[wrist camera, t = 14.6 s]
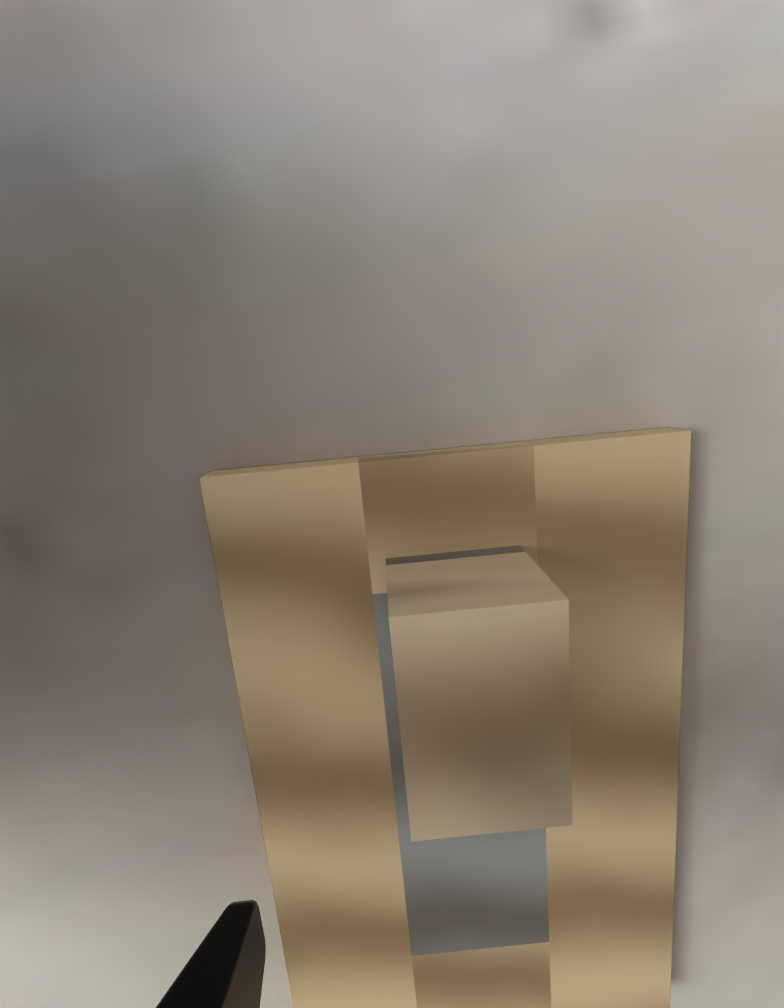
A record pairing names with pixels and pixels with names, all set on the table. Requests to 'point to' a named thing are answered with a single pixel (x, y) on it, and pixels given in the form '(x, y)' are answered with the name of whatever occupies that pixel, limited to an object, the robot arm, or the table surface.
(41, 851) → the table surface
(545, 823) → the block
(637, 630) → the board
